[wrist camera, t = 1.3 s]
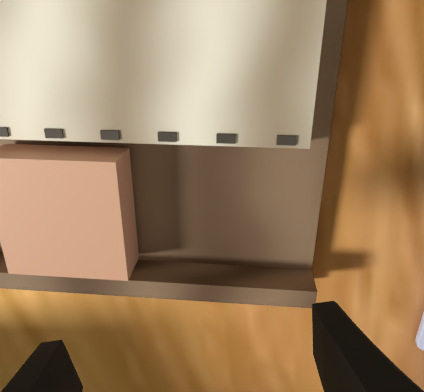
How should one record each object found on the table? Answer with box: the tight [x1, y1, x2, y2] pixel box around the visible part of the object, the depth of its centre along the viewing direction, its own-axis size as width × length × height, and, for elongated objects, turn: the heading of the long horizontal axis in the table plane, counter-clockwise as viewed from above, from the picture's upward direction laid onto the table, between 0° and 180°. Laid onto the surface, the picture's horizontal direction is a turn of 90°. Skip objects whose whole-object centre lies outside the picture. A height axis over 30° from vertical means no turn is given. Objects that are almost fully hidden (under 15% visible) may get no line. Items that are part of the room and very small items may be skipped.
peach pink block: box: [0, 144, 139, 281], centre depth 18 cm, size 6×6×2 cm
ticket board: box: [0, 0, 348, 308], centre depth 18 cm, size 22×15×3 cm
